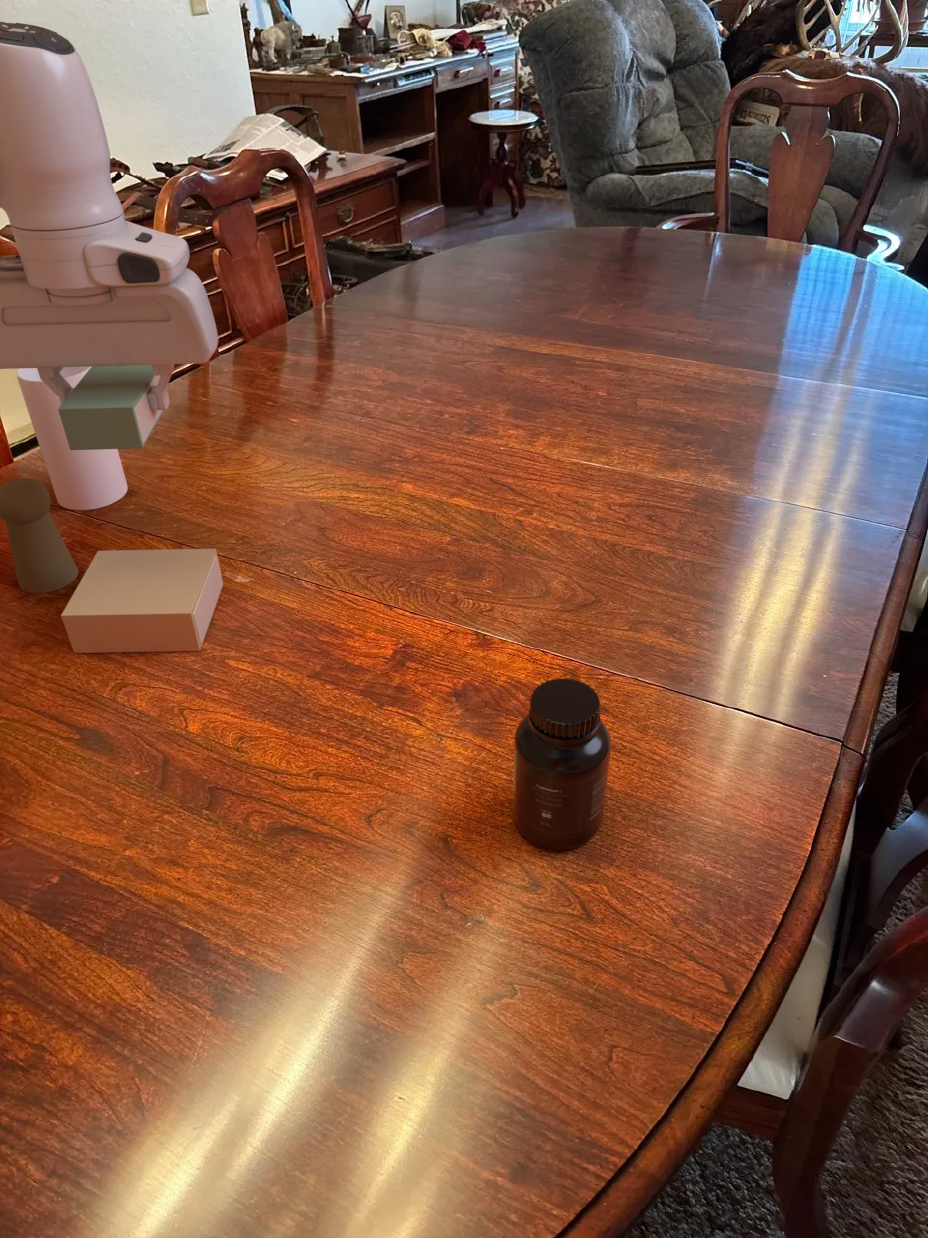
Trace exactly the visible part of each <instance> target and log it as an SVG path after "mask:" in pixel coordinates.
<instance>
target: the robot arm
mask: <svg viewBox="0 0 928 1238" xmlns="http://www.w3.org/2000/svg"><path fill="white" fill-rule="evenodd" d="M108 141H109V140H108V138H107V133H106V129H105V125H104V121H103V117H102V115H101V111H100V106H99V103H98V100H97V96H96V93H95V90H94V87H93V84H92V81H91V79H90V76H89V73H88V71H87V67H85V63H84V61H83V59H82V57H81V56H80V54H79V52H78V50H77V49H76V47H75V46H74V45H73V44H72V43H71V42H70V41H69V39H68V38H65V37H64V36H62V35H61V34H59V33H58V32H57V31H54V30H51V29H48V28H46V27H42V26H38V25H34V24H28V23H22V22H5V21H0V209H2V210H3V211H4V212H5V214H6V215H7V218H8V221H9V224H10V228H11V232H12V235H13V238H14V241H15V242H14V243H15V245H16V248H17V252H18V254H16V255H14V254H13V255H2V256H1V255H0V370H7V369H8V370H14V369H18V368H37V369H38V373H39V376H40V379H41V380H42V381H43V382H44V383H45V384H46V385H47V386H48V387H49V388H50V389H51V390H52V391H53V392H54V393H55V394H56V395H57V396H59V399H60V402H61V404H62V403H63V402H64V401H65V399H66V398H67V397H68V396H69V394H70V393H71V392H72V391H73V389H74V388H72V387H71V386H70V385H69V383H68V382H67V381H66V380H65V379H64V378H63V376H62V375H61V374H60V373H59V372H60V371H61V370H62V369H63V367H91V366H129V365H151V366H152V370H153V374H154V375H155V376H159V375H160V379H159V382H158V384H157V386H151V387H150V389H149V390H148V392H147V393H146V394H147V399H148V402H149V407H150V409H151V410H164V411H167V410H168V408H169V406H170V404H171V403H170V396H169V392H168V391H169V390H168V386H169V383H170V381H171V377H172V375H173V372H174V369H175V367H176V366H175V365H197V364H198V365H199V364H206V363H207V362H208V361H210V359H211V358H212V357H213V355H214V353H215V352H216V351H217V348H218V344H219V335H218V334H219V333H218V329H217V324H216V322H215V321H216V319H215V317H214V312H213V309H212V306H211V303H210V299H209V296H208V293H207V291H206V288H205V286H204V284H203V282H202V279H200V277H199V276H198V275H197V274H196V273H195V272H194V271H193V270H192V269H190V268H188V267H187V266H188V264H189V261H190V257H191V256H190V255H191V253H190V248H189V244H188V242H187V240H185V239H184V238H182V237H180V236H177V235H174V234H170V233H167V232H163V231H160V230H157V229H153V228H150V227H147V226H142V225H140V224H137V223H134V222H131V221H128V220H126V216H125V212H124V207H123V205H122V203H121V200H120V199H119V197H118V194H117V192H116V190H115V188H114V185H113V182H112V178H111V177H112V176H111V151H110V147H109V142H108Z"/></svg>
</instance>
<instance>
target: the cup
mask: <svg viewBox="0 0 928 1238" xmlns="http://www.w3.org/2000/svg"><path fill="white" fill-rule="evenodd" d="M91 367H92V366H91ZM91 367H63V369H62V370H61V371H60V372H59V373H60V374H61V375H62V376H63V378H64V379H65V380H66V381H67V382H68V383H69V385H70V386H71V387H72V388H75V387H76V385H77V384H78V383H79V382H80V380H81V379H82V378H83V377H84V375H85V374H86V373H87V372H88V370H89V369H90V368H91ZM15 374H16V378H17V381H18V384H19V387H20V389H21V393H22V397H23V400H24V403H25V406H26V409H27V412H28V415H29V418H30V421H31V424H32V427H33V430H34V434H35V436H36V440H37V443H38V446H39V449H40V452H41V455H42V458H43V461H44V465H45V467H46V470H47V474H48V477H49V480H50V483H51V486H52V489H53V492H54V495H55V499H56V502H57V504H58V505H59V506H61V507H62V508H64V509H67V510H71V511H90V510H96V509H101V508H104V507H107V506H110V505H112V504H115V503H116V502H118V501H120V500H121V499H122V498H123V497H124V496H125V495H126V494H127V492H128V490H129V489H128V488H129V485H128V483H127V479H126V475H125V471H124V467H123V464H122V460H121V457H120V453H119V449H101V450H70V447H69V444H68V441H67V438H66V434H65V431H64V428H63V424H62V421H61V418H60V415H59V411H58V408H59V407H60V406H61V402H60V399H59V396H57V395H56V394H55V393H54V392H53V391H52V390H51V389H50V388H49V387H48V386H47V385H46V384H45V383H44V382H43V381H42V380H41V379H40V376H39V373H38V369H37V368H17V370H16V373H15Z"/></svg>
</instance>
